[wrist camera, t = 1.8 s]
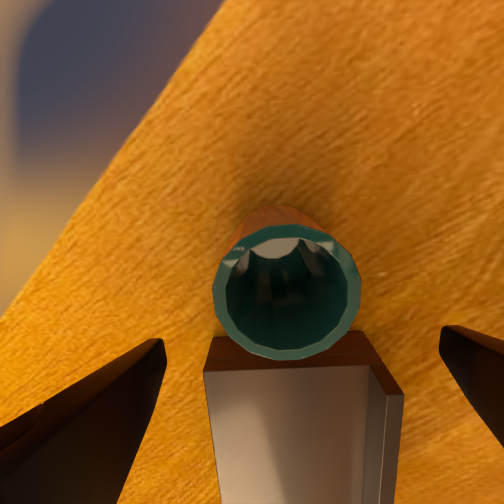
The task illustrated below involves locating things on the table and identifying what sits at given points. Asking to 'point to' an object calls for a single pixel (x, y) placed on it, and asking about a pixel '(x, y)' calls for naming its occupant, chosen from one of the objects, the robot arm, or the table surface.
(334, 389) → the desk shelf
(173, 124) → the table surface
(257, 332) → the glazed pot
